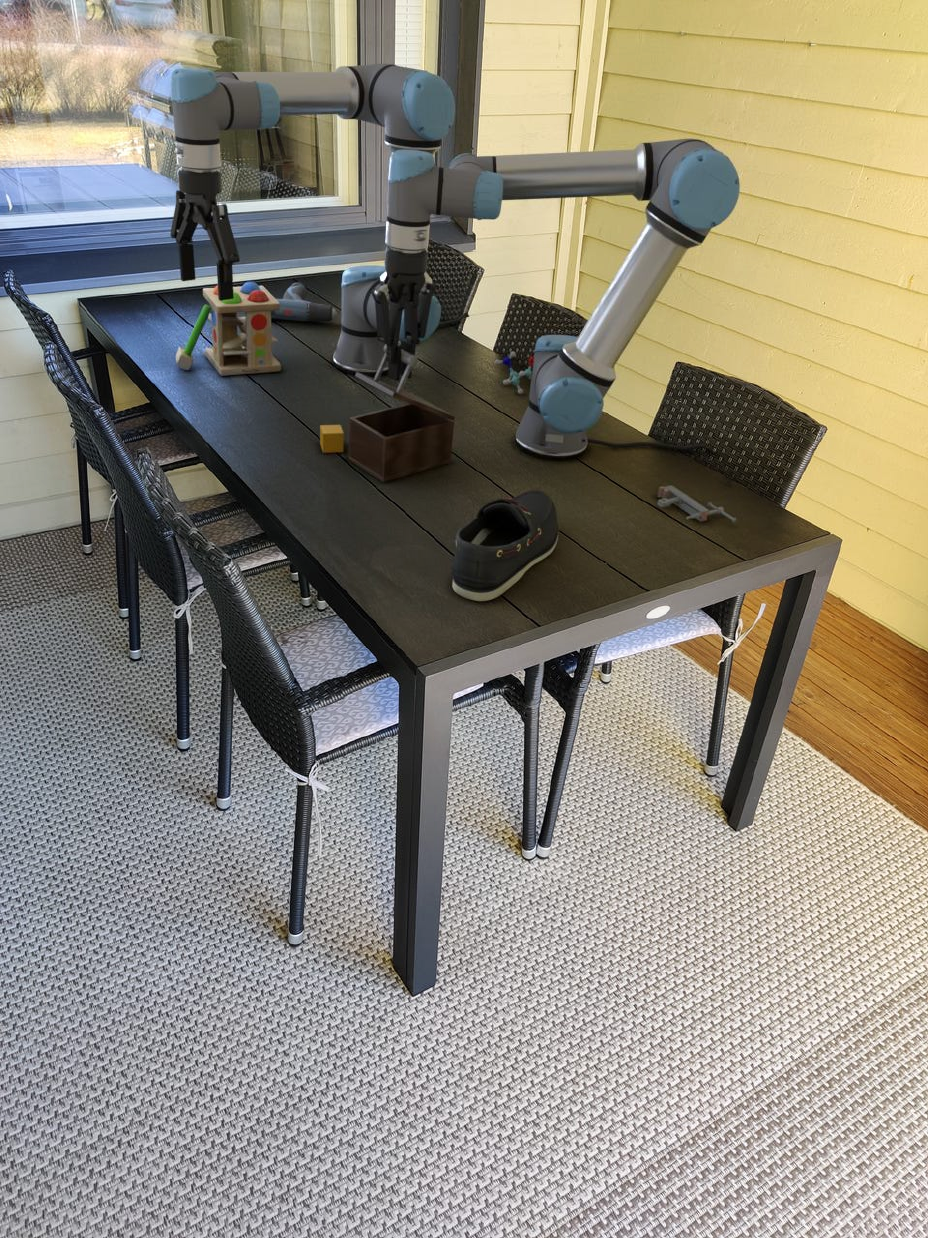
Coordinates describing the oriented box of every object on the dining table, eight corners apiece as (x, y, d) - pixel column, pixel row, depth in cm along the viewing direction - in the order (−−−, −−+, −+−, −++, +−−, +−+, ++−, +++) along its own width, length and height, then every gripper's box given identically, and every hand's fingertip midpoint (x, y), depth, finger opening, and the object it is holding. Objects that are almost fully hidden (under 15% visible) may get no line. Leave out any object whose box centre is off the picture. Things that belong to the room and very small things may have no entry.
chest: (383, 482, 187) (385, 439, 182) (348, 459, 194) (349, 417, 189) (450, 462, 197) (454, 421, 192) (414, 441, 204) (417, 401, 199)
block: (322, 452, 196) (322, 433, 193) (320, 444, 199) (320, 425, 197) (343, 452, 197) (343, 432, 194) (340, 443, 200) (340, 424, 198)
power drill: (344, 304, 276) (335, 327, 259) (277, 298, 275) (264, 321, 258) (344, 285, 273) (335, 306, 256) (277, 279, 272) (264, 300, 255)
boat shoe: (583, 534, 177) (590, 481, 172) (488, 608, 153) (493, 549, 148) (521, 514, 183) (526, 462, 178) (421, 583, 159) (423, 525, 154)
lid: (392, 396, 178) (410, 353, 176) (354, 375, 185) (372, 334, 183) (453, 420, 192) (471, 381, 190) (416, 400, 199) (433, 362, 197)
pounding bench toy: (183, 379, 220) (176, 299, 210) (169, 357, 231) (162, 280, 221) (282, 371, 230) (280, 294, 220) (264, 350, 240) (262, 276, 230)
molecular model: (539, 386, 226) (526, 343, 224) (502, 400, 229) (488, 358, 228) (551, 385, 236) (539, 344, 235) (515, 398, 240) (503, 358, 238)
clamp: (647, 488, 189) (686, 480, 193) (645, 499, 190) (684, 490, 195) (698, 524, 178) (739, 515, 183) (696, 535, 180) (736, 525, 184)
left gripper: (145, 155, 179) (155, 274, 191) (217, 183, 164) (224, 310, 176) (182, 153, 183) (190, 269, 195) (256, 180, 169) (260, 304, 181)
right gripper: (385, 257, 165) (379, 390, 178) (453, 249, 174) (442, 377, 187) (359, 246, 170) (355, 377, 183) (426, 238, 178) (417, 364, 191)
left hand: (206, 289), depth 186 cm, fingers open, 13 cm apart
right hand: (399, 376), depth 185 cm, fingers closed on lid, 2 cm apart
